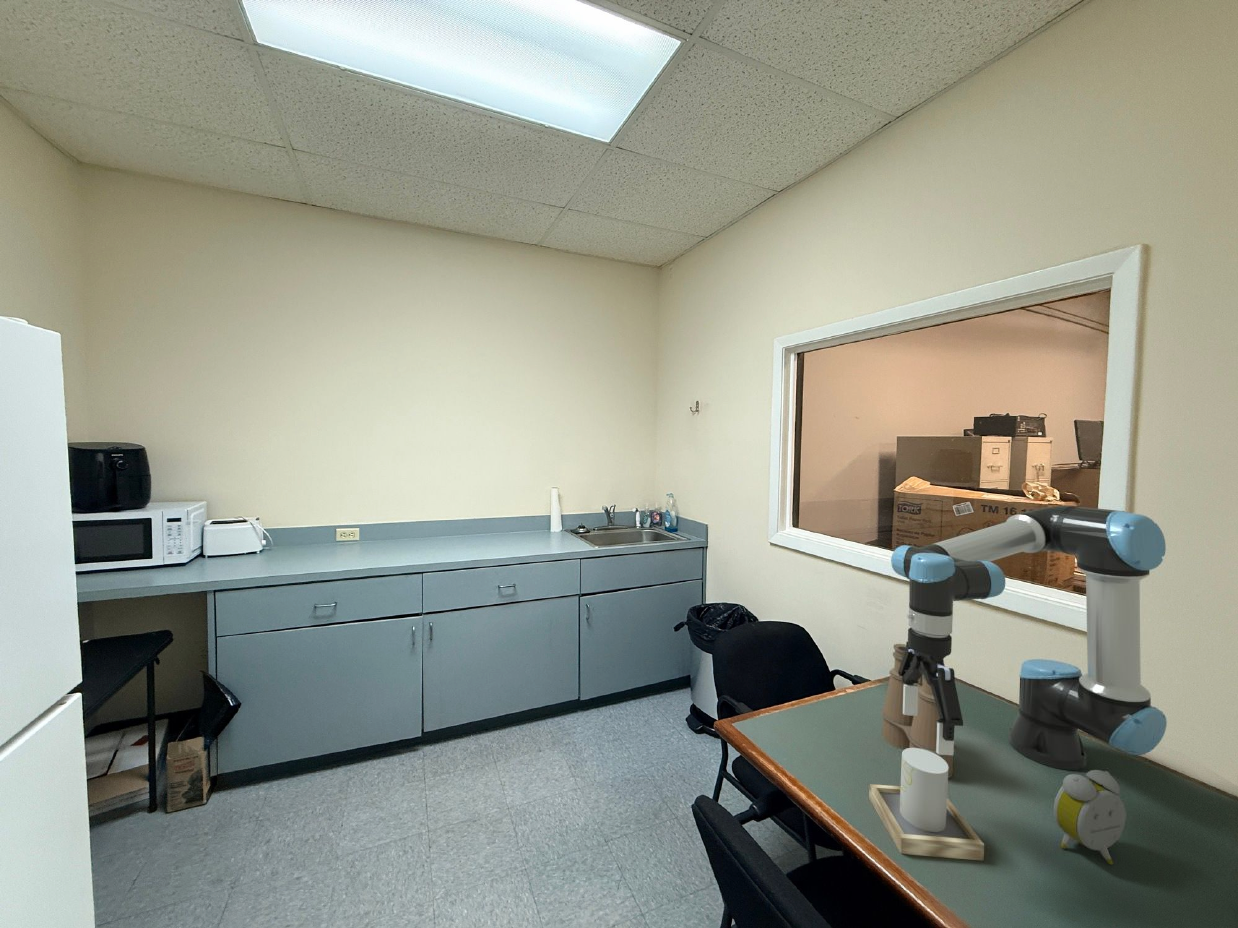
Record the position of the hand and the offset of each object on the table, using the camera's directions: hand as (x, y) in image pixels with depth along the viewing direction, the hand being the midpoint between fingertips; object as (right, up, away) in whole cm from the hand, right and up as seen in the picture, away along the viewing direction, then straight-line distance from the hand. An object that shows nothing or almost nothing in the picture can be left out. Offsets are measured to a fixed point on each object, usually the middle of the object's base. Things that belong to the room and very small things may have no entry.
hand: (926, 732), depth 102 cm
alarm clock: (+29, -21, -5) cm, 36 cm away
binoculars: (+13, -19, +26) cm, 35 cm away
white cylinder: (0, -18, +1) cm, 18 cm away
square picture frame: (0, -20, +1) cm, 20 cm away
